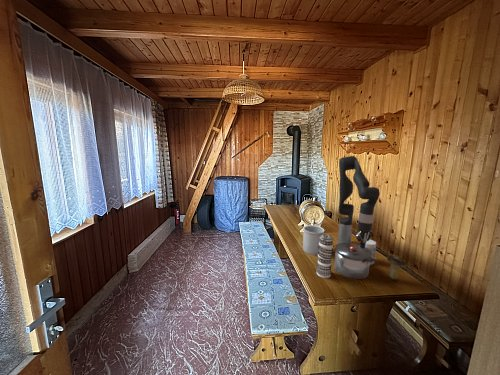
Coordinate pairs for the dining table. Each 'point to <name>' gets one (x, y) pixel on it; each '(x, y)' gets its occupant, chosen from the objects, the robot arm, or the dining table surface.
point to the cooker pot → (351, 267)
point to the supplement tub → (371, 248)
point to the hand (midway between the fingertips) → (362, 247)
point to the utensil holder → (312, 239)
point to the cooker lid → (354, 252)
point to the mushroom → (395, 265)
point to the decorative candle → (325, 256)
